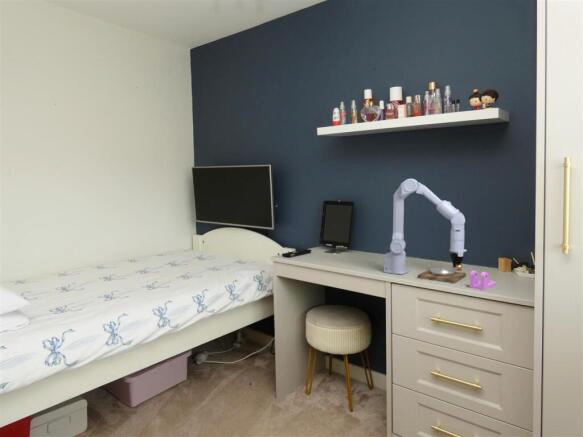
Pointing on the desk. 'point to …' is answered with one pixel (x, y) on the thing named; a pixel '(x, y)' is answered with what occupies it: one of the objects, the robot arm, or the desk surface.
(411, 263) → the desk surface
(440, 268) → the dial
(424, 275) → the dial plate
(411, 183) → the robot arm
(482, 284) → the bracket
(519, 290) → the desk surface
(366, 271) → the desk surface
